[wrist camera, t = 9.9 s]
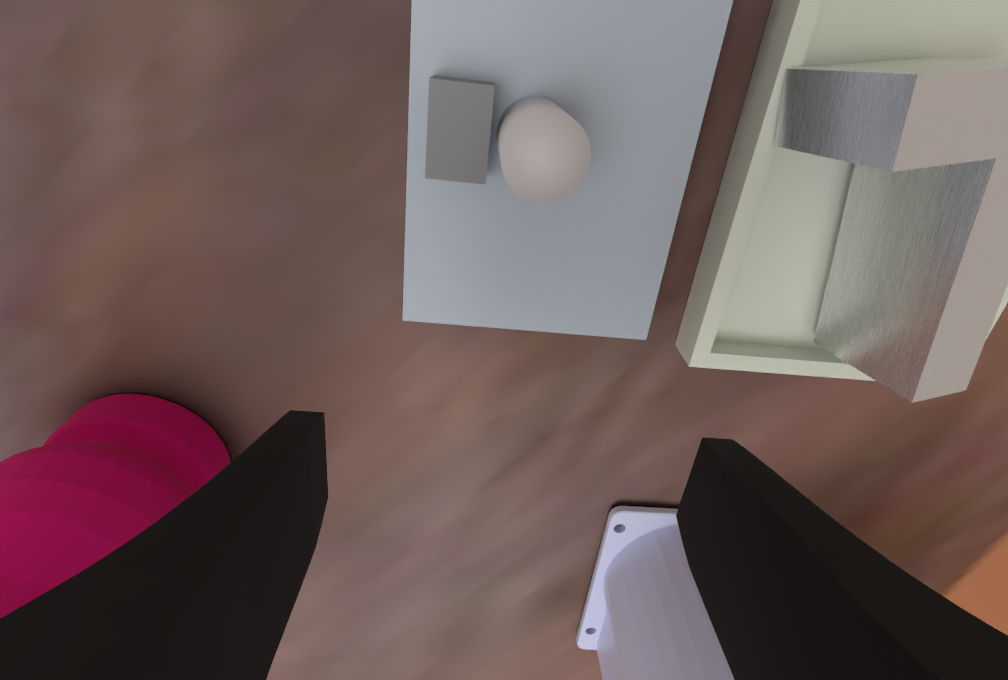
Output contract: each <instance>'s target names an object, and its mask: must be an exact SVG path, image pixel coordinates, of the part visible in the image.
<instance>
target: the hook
mask: <svg viewBox="0 0 1008 680" xmlns="http://www.w3.org/2000/svg"><path fill="white" fill-rule="evenodd" d="M774 146H777V147H782V148H786V149H791V150H795V151H800V152H804V153H809V154H813V155H818V156H822V157H827V158H831V159H836V160H840V161H845V162H849V163H854V164H855V165H854V169H853V173H852V178H851V182H850V186H849V190H848V195H847V199H846V203H845V208H844V212H843V216H842V221H841V225H840V229H839V234H838V238H837V242H836V246H835V251H834V255H833V259H832V264H831V268H830V272H829V277H828V281H827V285H826V290H825V294H824V298H823V302H822V307H821V311H820V315H819V320H818V324H817V328H816V333H815V337H814V341H813V343H815V344H817V345H818V346H820V347H822V348H823V349H825V350H826V351H828V352H830V353H831V354H833V355H835V356H836V357H838V358H840V359H841V360H843V361H844V362H846V363H848V364H849V365H851V366H853V367H854V368H856V369H857V370H859V371H861V372H862V373H864V374H866V375H867V376H869V377H871V378H872V379H874V380H875V381H877V382H879V383H880V384H882V385H884V386H885V387H887V388H888V389H890V390H892V391H893V392H895V393H897V394H898V395H900V396H901V397H903V398H905V399H906V400H908V401H910V402H911V403H914V402H918V401H922V400H926V399H931V398H935V397H939V396H944V395H948V394H952V393H956V392H961V391H965V390H966V389H967V386H968V384H969V381H970V379H971V376H972V374H973V371H974V369H975V366H976V364H977V361H978V359H979V356H980V354H981V351H982V348H983V346H984V343H985V341H986V338H987V336H988V333H989V331H990V328H991V326H992V323H993V321H994V318H995V316H996V313H997V310H998V308H999V305H1000V303H1001V300H1002V298H1003V295H1004V293H1005V290H1006V288H1007V285H1008V57H945V56H935V57H922V58H910V59H898V60H886V61H873V62H861V63H849V64H837V65H824V66H812V67H800V68H788V69H786V74H785V80H784V86H783V93H782V99H781V105H780V111H779V117H778V123H777V129H776V135H775V141H774Z"/></svg>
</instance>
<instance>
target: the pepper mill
mask: <svg viewBox="0 0 1008 680" xmlns="http://www.w3.org/2000/svg"><path fill="white" fill-rule="evenodd" d="M229 463H230V459H229V455H228V452H227V449H226V446H225V445H224V443H223V442H222V440H221V439H220V438H219V436H218V435H217V433H216V432H215V431H214V429H213V428H212V427H210V426H209V425H208V424H207V423H206V422H205V421H204V420H202V419H201V418H200V417H199V416H198V415H196V414H195V413H193V412H191V411H189V410H187V409H186V408H184V407H182V406H180V405H178V404H176V403H173V402H170V401H167V400H164V399H161V398H158V397H155V396H148V395H140V394H128V393H127V394H118V395H111V396H106V397H103V398H100V399H97V400H94V401H92V402H90V403H88V404H86V405H84V406H83V407H82V408H80V409H79V410H78V411H77V412H76V413H75V414H74V415H73V416H71V417H70V418H69V419H68V420H67V421H66V422H65V423H64V424H63V425H62V426H61V427H59V428H58V429H57V430H56V431H55V432H54V433H53V434H52V435H51V436H50V437H49V438H48V440H47V441H46V442H45V444H44V446H43V447H38V448H34V449H30V450H27V451H24V452H21V453H18V454H15V455H13V456H11V457H9V458H7V459H5V460H3V461H2V462H0V618H2V617H4V616H5V615H7V614H9V613H11V612H12V611H14V610H16V609H18V608H19V607H21V606H23V605H24V604H26V603H28V602H30V601H31V600H33V599H35V598H37V597H38V596H40V595H42V594H43V593H45V592H47V591H49V590H50V589H52V588H54V587H56V586H57V585H59V584H61V583H62V582H64V581H66V580H68V579H69V578H71V577H73V576H75V575H76V574H78V573H80V572H81V571H83V570H84V569H86V568H88V567H89V566H91V565H93V564H94V563H96V562H97V561H99V560H100V559H102V558H103V557H105V556H106V555H108V554H109V553H111V552H113V551H114V550H116V549H117V548H119V547H120V546H122V545H123V544H125V543H126V542H128V541H129V540H131V539H132V538H134V537H135V536H137V535H138V534H139V533H141V532H142V531H144V530H145V529H147V528H148V527H149V526H151V525H152V524H153V523H155V522H156V521H158V520H159V519H160V518H162V517H163V516H164V515H165V514H167V513H168V512H169V511H171V510H172V509H173V508H175V507H176V506H177V505H178V504H180V503H181V502H182V501H184V500H185V499H186V498H188V497H189V496H190V495H192V494H193V493H194V492H195V491H197V490H198V489H199V488H200V487H202V486H203V485H204V484H205V483H207V482H208V481H209V480H210V479H211V478H213V477H214V476H215V475H216V474H217V473H219V472H220V471H221V470H222V469H223V468H224V467H226V466H227V465H228V464H229Z"/></svg>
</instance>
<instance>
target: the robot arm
mask: <svg viewBox="0 0 1008 680" xmlns="http://www.w3.org/2000/svg"><path fill="white" fill-rule="evenodd" d="M327 499H328V484H327V463H326V442H325V420H324V413H323V412H307V411H292V410H290V411H289V412H288V413H286V414H285V415H284V416H283V417H282V418H280V419H279V420H278V421H277V422H276V423H275V424H274V425H272V426H271V427H270V428H269V429H268V430H267V431H266V432H265V433H263V434H262V435H261V436H260V437H259V438H258V439H257V440H256V441H255V442H253V443H252V444H251V445H250V446H249V447H248V448H247V449H245V450H244V451H243V452H242V453H241V454H240V455H239V456H237V457H236V458H235V459H234V460H233V461H232V462H230V463H229V464H228V465H227V466H226V467H224V468H223V469H222V470H221V471H220V472H219V473H217V474H216V475H215V476H214V477H213V478H211V479H210V480H209V481H208V482H207V483H205V484H204V485H203V486H202V487H200V488H199V489H198V490H197V491H195V492H194V493H193V494H192V495H190V496H189V497H188V498H186V499H185V500H184V501H182V502H181V503H180V504H178V505H177V506H176V507H175V508H173V509H172V510H171V511H169V512H168V513H167V514H165V515H164V516H163V517H162V518H160V519H159V520H158V521H156V522H155V523H153V524H152V525H151V526H149V527H148V528H147V529H145V530H144V531H142V532H141V533H139V534H138V535H137V536H135V537H134V538H132V539H131V540H129V541H128V542H126V543H125V544H123V545H122V546H120V547H119V548H117V549H116V550H114V551H113V552H111V553H109V554H108V555H106V556H105V557H103V558H102V559H100V560H99V561H97V562H96V563H94V564H93V565H91V566H89V567H88V568H86V569H84V570H83V571H81V572H80V573H78V574H76V575H75V576H73V577H71V578H69V579H68V580H66V581H64V582H62V583H61V584H59V585H57V586H56V587H54V588H52V589H50V590H49V591H47V592H45V593H43V594H42V595H40V596H38V597H37V598H35V599H33V600H31V601H30V602H28V603H26V604H24V605H23V606H21V607H19V608H18V609H16V610H14V611H12V612H11V613H9V614H7V615H5V616H4V617H2V618H0V680H266V678H267V675H268V672H269V670H270V667H271V664H272V661H273V659H274V656H275V654H276V651H277V648H278V646H279V643H280V640H281V638H282V635H283V633H284V630H285V627H286V625H287V622H288V619H289V617H290V614H291V612H292V609H293V606H294V604H295V601H296V599H297V596H298V593H299V591H300V588H301V585H302V583H303V580H304V577H305V575H306V572H307V569H308V567H309V564H310V561H311V559H312V556H313V553H314V550H315V548H316V544H317V540H318V536H319V532H320V528H321V525H322V520H323V516H324V512H325V508H326V504H327ZM619 524H622V525H620V526H616V525H619ZM576 640H577V645H578V647H580V648H582V649H588V650H597V653H598V659H599V664H600V669H601V674H602V679H603V680H1008V636H1007V635H1006V634H1004V633H1002V632H1000V631H999V630H997V629H995V628H993V627H992V626H990V625H988V624H987V623H985V622H983V621H981V620H980V619H978V618H977V617H975V616H973V615H972V614H970V613H968V612H967V611H965V610H963V609H961V608H960V607H959V606H957V605H955V604H954V603H952V602H951V601H949V600H948V599H946V598H945V597H943V596H942V595H940V594H939V593H937V592H935V591H934V590H932V589H931V588H929V587H928V586H926V585H925V584H923V583H922V582H920V581H918V580H917V579H915V578H914V577H912V576H911V575H909V574H908V573H906V572H905V571H904V570H902V569H901V568H899V567H898V566H896V565H895V564H893V563H892V562H891V561H889V560H888V559H886V558H885V557H884V556H882V555H881V554H880V553H878V552H877V551H875V550H874V549H873V548H871V547H870V546H869V545H867V544H866V543H864V542H863V541H862V540H860V539H859V538H858V537H856V536H855V535H854V534H852V533H851V532H850V531H848V530H847V529H846V528H844V527H843V526H842V525H840V524H839V523H838V522H837V521H835V520H834V519H833V518H831V517H830V516H829V515H828V514H826V513H825V512H824V511H822V510H821V509H820V508H819V507H817V506H816V505H815V504H814V503H812V502H811V501H810V500H809V499H807V498H806V497H805V496H804V495H802V494H801V493H800V492H799V491H798V490H796V489H795V488H794V487H793V486H791V485H790V484H789V483H788V482H786V481H785V480H784V479H783V478H782V477H780V476H779V475H778V474H777V473H775V472H774V471H773V470H772V469H770V468H769V467H768V466H767V465H766V464H764V463H763V462H762V461H761V460H759V459H758V458H757V457H756V456H754V455H753V454H752V453H750V452H749V451H748V450H746V449H745V448H744V447H742V446H741V445H740V444H738V443H737V442H735V441H734V440H732V439H716V438H702V440H701V443H700V446H699V449H698V452H697V455H696V458H695V461H694V464H693V467H692V470H691V473H690V475H689V478H688V481H687V484H686V487H685V490H684V493H683V496H682V499H681V502H680V505H679V508H678V509H671V508H652V507H634V506H617V507H615V508H613V509H612V510H611V511H610V513H609V516H608V519H607V523H606V527H605V531H604V534H603V538H602V542H601V546H600V550H599V553H598V557H597V561H596V565H595V568H594V572H593V576H592V580H591V584H590V587H589V591H588V595H587V599H586V602H585V606H584V610H583V614H582V618H581V621H580V625H579V629H578V633H577V636H576Z"/></svg>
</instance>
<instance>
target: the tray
mask: <svg viewBox="0 0 1008 680" xmlns="http://www.w3.org/2000/svg"><path fill="white" fill-rule="evenodd" d="M935 56H945V57H1008V0H773V2H772V6H771V9H770V13H769V16H768V20H767V23H766V27H765V30H764V34H763V37H762V41H761V44H760V48H759V51H758V55H757V58H756V62H755V65H754V69H753V72H752V76H751V79H750V83H749V86H748V90H747V93H746V97H745V100H744V104H743V107H742V111H741V114H740V118H739V121H738V125H737V129H736V132H735V136H734V139H733V143H732V146H731V150H730V153H729V157H728V160H727V164H726V167H725V171H724V174H723V178H722V181H721V185H720V188H719V192H718V195H717V199H716V202H715V206H714V209H713V213H712V216H711V220H710V223H709V227H708V230H707V234H706V237H705V241H704V244H703V248H702V251H701V255H700V258H699V262H698V265H697V269H696V273H695V276H694V280H693V283H692V287H691V290H690V294H689V297H688V301H687V304H686V308H685V311H684V315H683V318H682V322H681V325H680V329H679V332H678V336H677V339H676V343H675V346H676V347H677V349H678V350H679V352H680V353H681V355H682V357H683V358H684V360H685V361H686V363H687V364H688V366H689V367H700V368H713V369H726V370H739V371H752V372H765V373H778V374H791V375H804V376H817V377H830V378H843V379H856V380H869V381H875V380H874V379H872V378H871V377H869V376H867V375H866V374H864V373H862V372H861V371H859V370H857V369H856V368H854V367H853V366H851V365H849V364H848V363H846V362H844V361H843V360H841V359H840V358H838V357H836V356H835V355H833V354H831V353H830V352H828V351H826V350H825V349H823V348H822V347H820V346H818V345H817V344H815V343H813V341H814V337H815V333H816V328H817V324H818V320H819V315H820V311H821V307H822V302H823V298H824V294H825V290H826V285H827V281H828V277H829V272H830V268H831V264H832V259H833V255H834V251H835V246H836V242H837V238H838V234H839V229H840V225H841V221H842V216H843V212H844V208H845V203H846V199H847V195H848V190H849V186H850V182H851V178H852V173H853V169H854V165H855V164H854V163H849V162H845V161H840V160H836V159H831V158H827V157H822V156H818V155H813V154H809V153H804V152H800V151H795V150H791V149H786V148H782V147H777V146H774V141H775V135H776V129H777V123H778V117H779V111H780V105H781V99H782V93H783V86H784V80H785V74H786V69H788V68H800V67H812V66H824V65H837V64H849V63H861V62H873V61H886V60H898V59H910V58H922V57H935ZM1007 303H1008V285H1007V288H1006V290H1005V293H1004V295H1003V298H1002V300H1001V303H1000V305H999V308H998V310H997V313H996V316H995V318H994V321H993V323H992V326H991V328H990V331H989V333H988V336H989V334H990V332H991V331H992V329H993V327H994V325H995V324H996V322H997V320H998V318H999V317H1000V315H1001V313H1002V311H1003V310H1004V308H1005V306H1006V304H1007ZM988 336H987V338H988ZM987 338H986V339H987Z"/></svg>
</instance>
